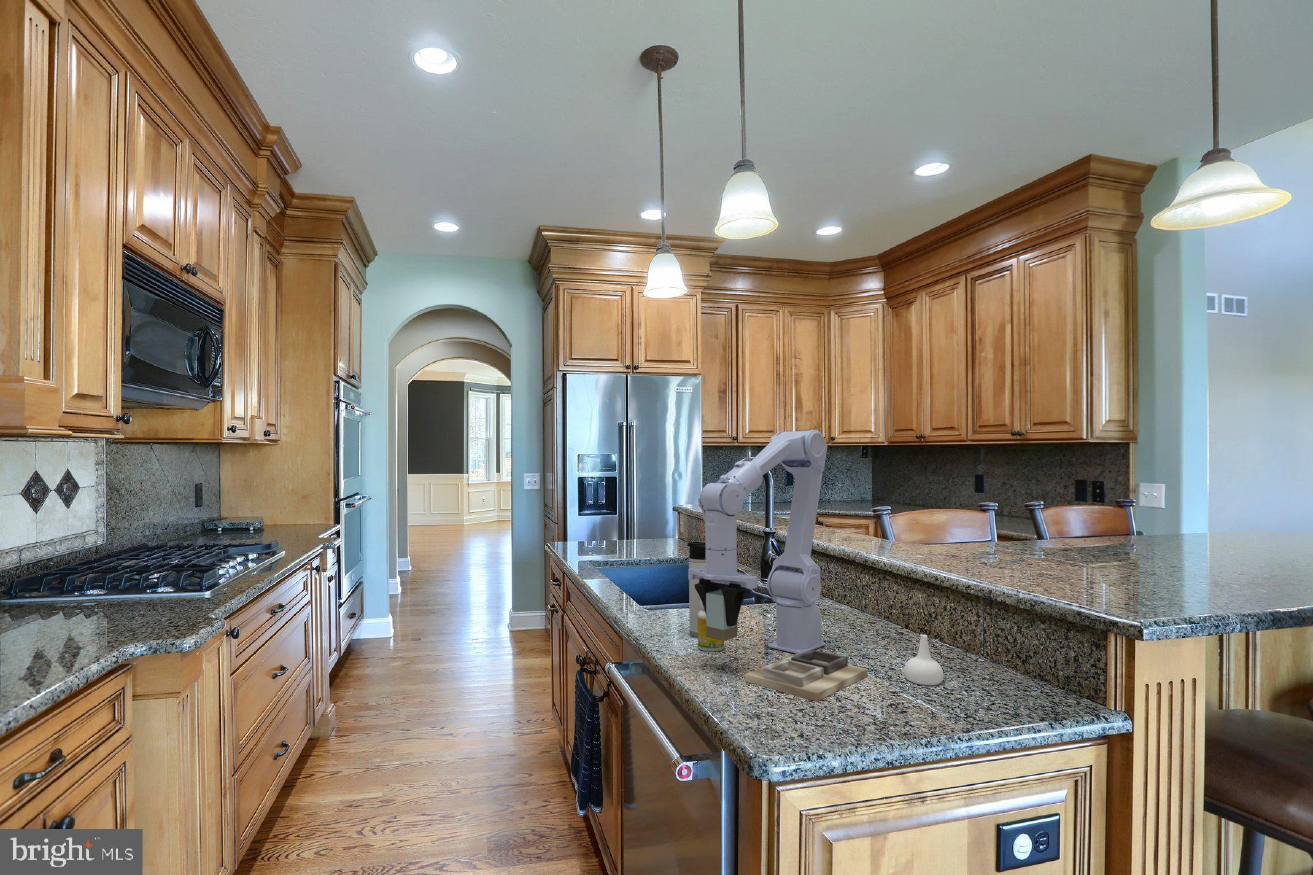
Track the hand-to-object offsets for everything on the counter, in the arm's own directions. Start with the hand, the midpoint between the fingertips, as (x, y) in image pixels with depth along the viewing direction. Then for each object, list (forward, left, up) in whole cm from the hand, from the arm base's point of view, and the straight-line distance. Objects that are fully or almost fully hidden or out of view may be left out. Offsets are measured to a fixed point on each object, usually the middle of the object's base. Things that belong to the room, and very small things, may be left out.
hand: (721, 623), depth 121 cm
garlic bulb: (-19, +29, -8) cm, 36 cm away
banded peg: (0, 0, -2) cm, 2 cm away
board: (-6, +14, -8) cm, 17 cm away
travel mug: (-16, -18, -8) cm, 26 cm away
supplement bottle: (-9, -10, -8) cm, 16 cm away
